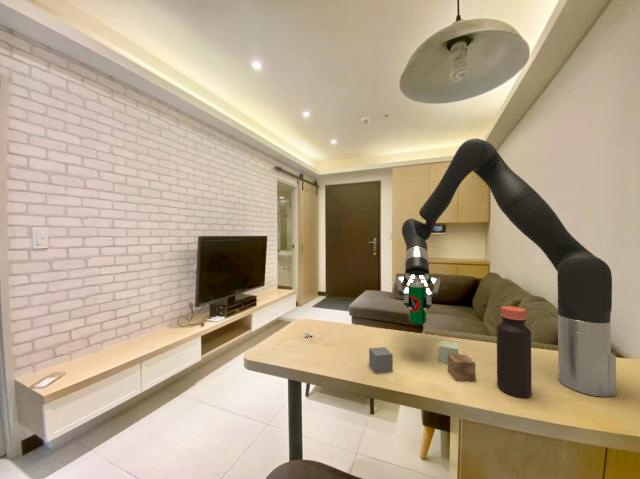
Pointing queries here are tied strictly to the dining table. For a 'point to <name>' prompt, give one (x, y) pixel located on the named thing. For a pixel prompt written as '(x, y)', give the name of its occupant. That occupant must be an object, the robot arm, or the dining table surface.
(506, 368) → the bottle
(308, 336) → the power adapter
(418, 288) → the soda can
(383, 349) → the charcoal block
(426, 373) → the dining table surface
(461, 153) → the robot arm
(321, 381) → the dining table surface
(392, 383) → the dining table surface
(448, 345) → the sage block
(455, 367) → the walnut block
